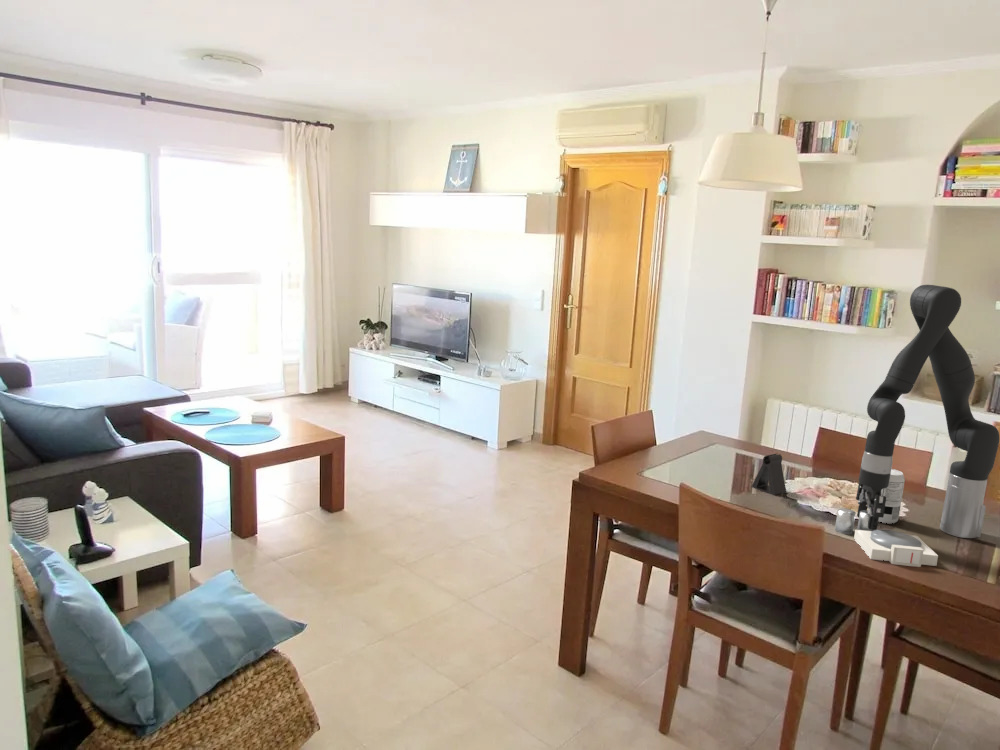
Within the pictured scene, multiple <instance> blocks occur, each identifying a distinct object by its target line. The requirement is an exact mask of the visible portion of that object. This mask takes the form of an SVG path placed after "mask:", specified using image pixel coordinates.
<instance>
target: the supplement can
mask: <svg viewBox="0 0 1000 750" xmlns="http://www.w3.org/2000/svg"><path fill="white" fill-rule="evenodd" d="M905 481H906V480H905V475H904V473H903V472H902V471H900V470H899V469H898V470H897V469H894V468H892V469H891V474H890V480H889V486H888V487H887V488H883V489H882V490H881V494H882V496H886V503H885V510H884V516H883V518H882V517H879V520H878V521H879V522H878V523H880V522H882V523H881V524H886V523H887V525H888V524H889V525H893V524H895V523H897V522H898V521H899V517H900V512H901V505H902V499H903V492H904V487H905ZM867 511H869V508H867ZM880 512H881V509H880ZM892 523H893V524H892Z"/></svg>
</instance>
